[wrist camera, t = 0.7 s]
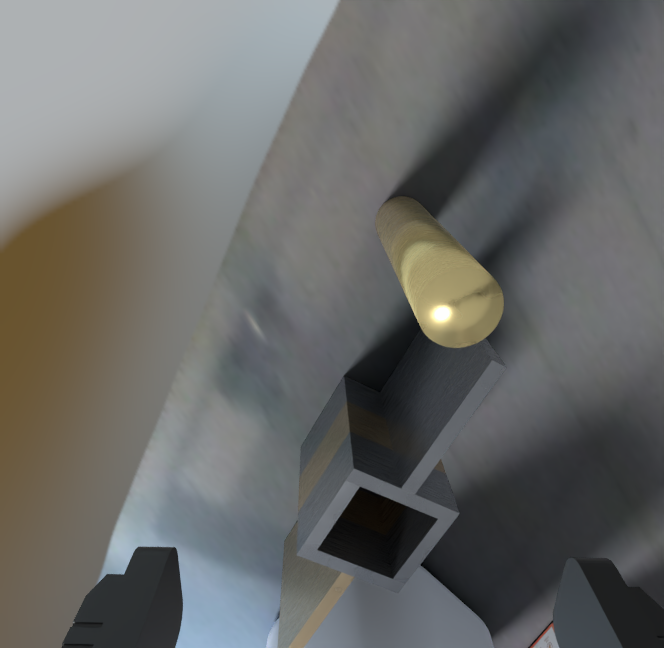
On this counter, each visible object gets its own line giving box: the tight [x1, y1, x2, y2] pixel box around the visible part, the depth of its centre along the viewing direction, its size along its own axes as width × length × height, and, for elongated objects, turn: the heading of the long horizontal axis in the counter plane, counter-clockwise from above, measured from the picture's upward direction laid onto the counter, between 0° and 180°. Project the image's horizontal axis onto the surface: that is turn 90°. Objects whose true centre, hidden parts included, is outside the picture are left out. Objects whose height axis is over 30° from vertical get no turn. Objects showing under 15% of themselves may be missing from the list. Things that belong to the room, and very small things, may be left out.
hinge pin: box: [375, 196, 504, 348], centre depth 25 cm, size 3×3×14 cm
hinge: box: [277, 329, 507, 648], centre depth 33 cm, size 22×6×10 cm, turn 152°
